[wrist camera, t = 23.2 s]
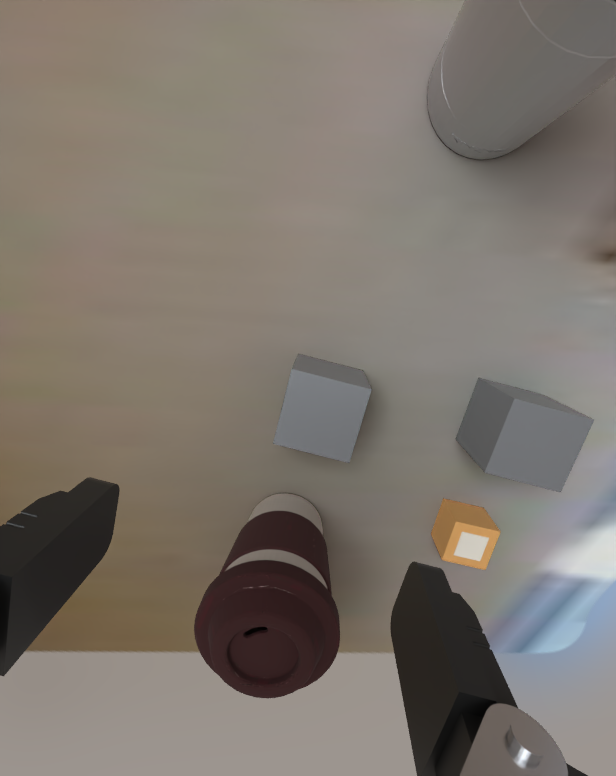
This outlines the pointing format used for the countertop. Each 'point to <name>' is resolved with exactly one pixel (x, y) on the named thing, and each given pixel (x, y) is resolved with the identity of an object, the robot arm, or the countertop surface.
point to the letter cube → (464, 534)
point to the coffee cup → (272, 603)
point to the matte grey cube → (522, 434)
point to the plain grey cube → (323, 408)
